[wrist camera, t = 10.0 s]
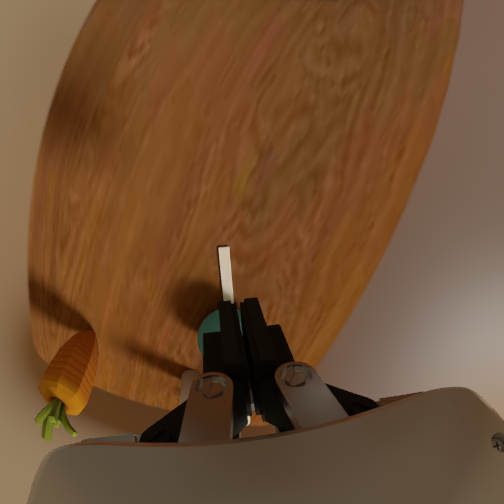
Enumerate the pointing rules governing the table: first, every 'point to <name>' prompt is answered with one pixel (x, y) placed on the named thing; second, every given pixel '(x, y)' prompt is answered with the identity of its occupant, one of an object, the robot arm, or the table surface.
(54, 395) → the carrot
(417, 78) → the table surface
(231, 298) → the lane line
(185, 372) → the white cylinder rod
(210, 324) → the ball
